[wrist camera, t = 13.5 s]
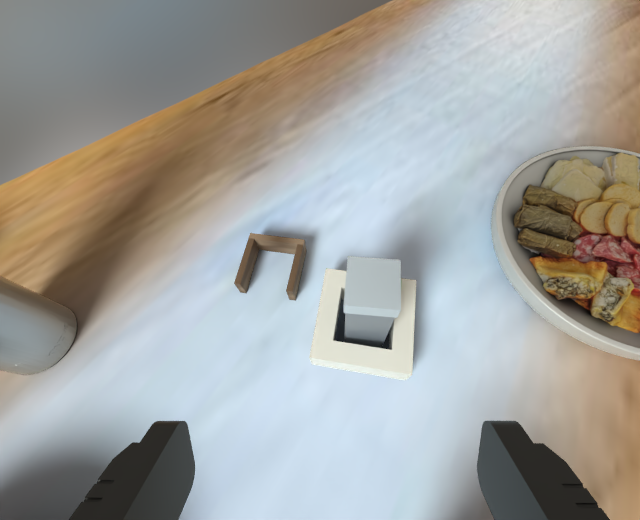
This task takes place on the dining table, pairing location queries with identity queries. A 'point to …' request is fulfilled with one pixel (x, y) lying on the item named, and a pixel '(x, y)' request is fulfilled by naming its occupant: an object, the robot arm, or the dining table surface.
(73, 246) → the dining table surface
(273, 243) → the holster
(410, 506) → the dining table surface
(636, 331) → the bowl
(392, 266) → the plug
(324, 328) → the frame
